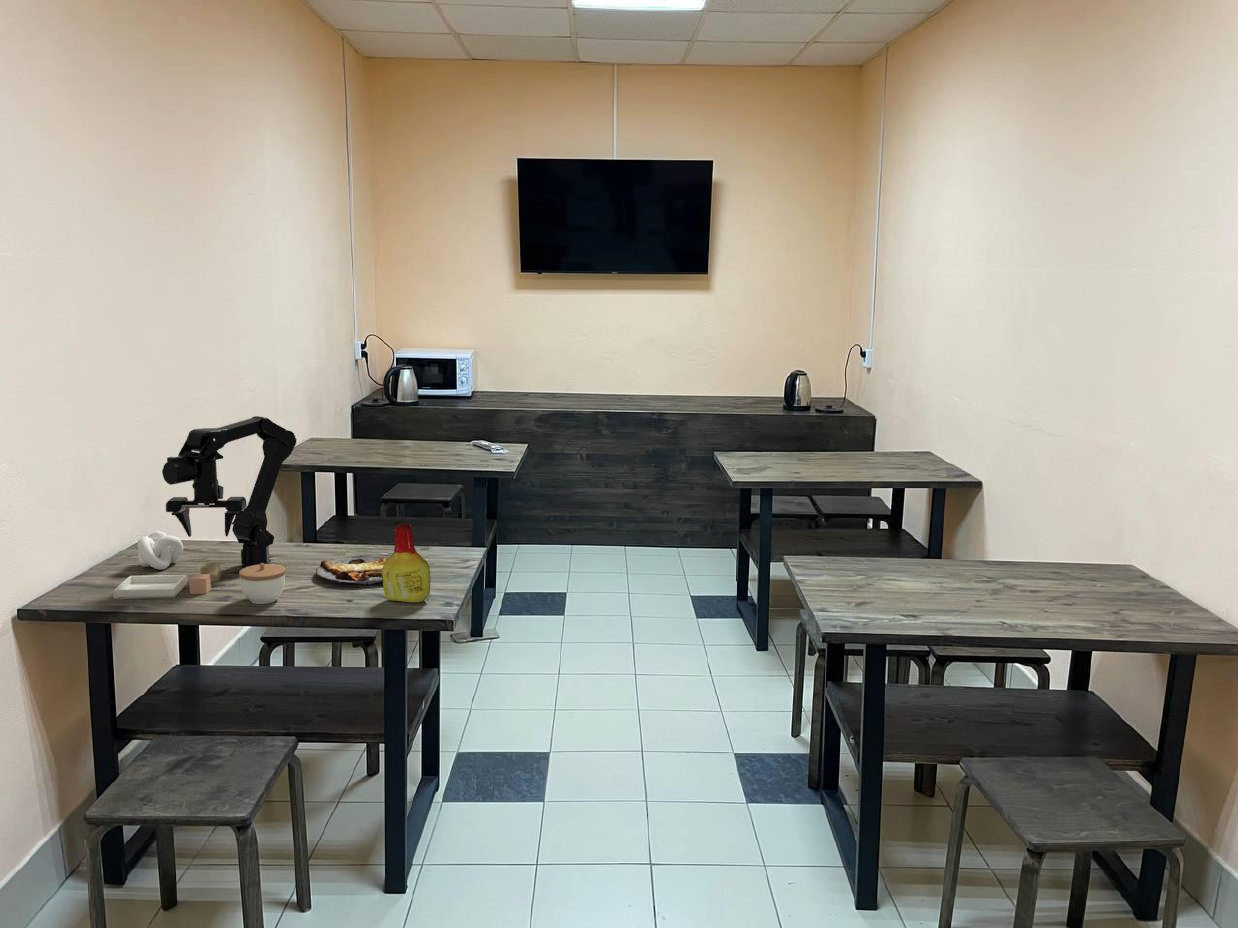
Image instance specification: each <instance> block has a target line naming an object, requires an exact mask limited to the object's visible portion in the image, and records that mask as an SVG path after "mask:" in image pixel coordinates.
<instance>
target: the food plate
mask: <svg viewBox="0 0 1238 928" xmlns="http://www.w3.org/2000/svg"><path fill="white" fill-rule="evenodd" d="M389 557H390V556H387V555H372V554H363V555H356V556H355V555H354V556H348V557H342V558H341V557H340V558H336V559H332V560H329V559H324V560H321V561H320V565H319V566H317V567H316V570H315V575H316V576H317V577H320V578H323V579H326V580H328V581H332V582H335V584H336V583H339V584H340V583H343V582H344V583H345V584H351V583H352V584H357V585H368V586H370V585H373V584H376V583H381V582H383V578H379V579H380V580H379V579H376V578H375V577H378V576H382V569H383V565H384V563H385V562H386V560H387V559H388V558H389ZM371 577H372V578H371ZM373 578H375V579H376V580H372V579H373Z"/></svg>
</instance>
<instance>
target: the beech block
mask: <svg viewBox="0 0 1238 928" xmlns="http://www.w3.org/2000/svg"><path fill="white" fill-rule="evenodd" d="M199 569H200V571H199V572H200V573H199V574H210V580H211V583H213V582H218V581H219V580H220V579H221V577H222V571H221V569H222V568H221V562H204V563H203V564H202V565H201V566H200V568H199Z"/></svg>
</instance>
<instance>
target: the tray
mask: <svg viewBox="0 0 1238 928" xmlns="http://www.w3.org/2000/svg"><path fill="white" fill-rule="evenodd" d="M188 583H189V578H188V574H167V575H165V574H162V575H161V574H159V575H158V574H157V575H154V574H152V575H151V574H150V575H129V576H128V577H127V578H126V579H125V580H124V581H122V582H121V583H120V584H119V585H118V586H116V588H114V589H113V590H112V595H113V597H112V598H113V600H127V599H128V600H130V599H131V600H133V599H134V600H135V599H136V600H138V599H143V600H144V599H175V598H176V596H177V595H178V594H180V592H181V591H182V590H183V589H184V588H185V587H186V586H187V584H188Z"/></svg>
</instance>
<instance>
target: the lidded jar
mask: <svg viewBox="0 0 1238 928" xmlns="http://www.w3.org/2000/svg"><path fill="white" fill-rule="evenodd" d="M238 574H239V581H240V582H239V583H240V589H241V591H242V593H243V595H244V596H245V598H246V599H247V600H249V601H250V603H251V604H255V605H266V604H271V603H273V602H276V601H277V599H278V597H280V595H281V594H282V593H283V590H284V589H285V583H286V567H284V566H283V565H279V564H275V563H270V564H264V563H261V564H259V565H253V566H249V567H246V568H242V569H240V570H239V572H238Z"/></svg>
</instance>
